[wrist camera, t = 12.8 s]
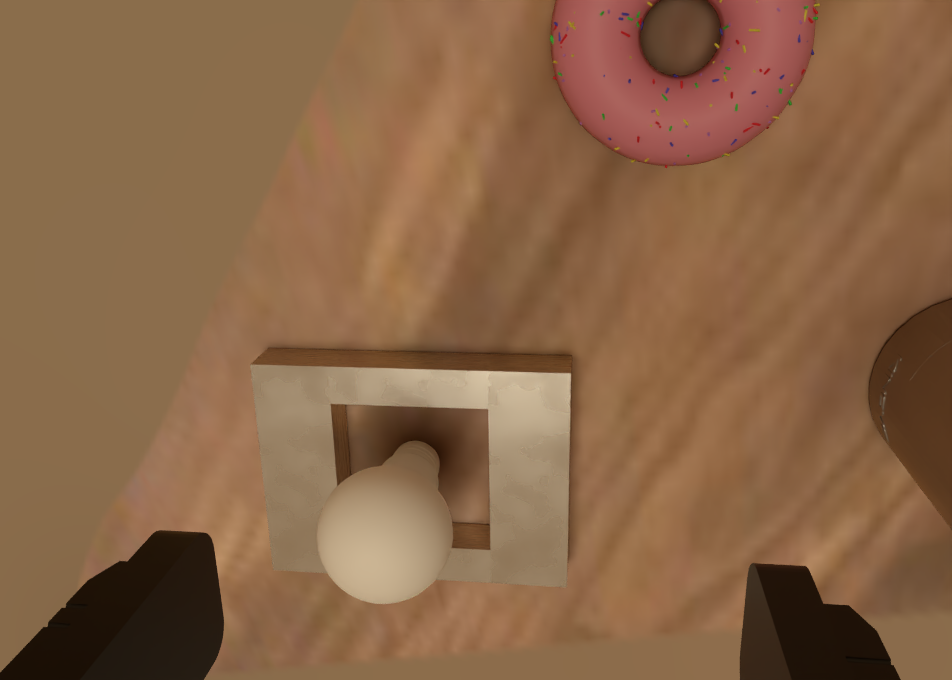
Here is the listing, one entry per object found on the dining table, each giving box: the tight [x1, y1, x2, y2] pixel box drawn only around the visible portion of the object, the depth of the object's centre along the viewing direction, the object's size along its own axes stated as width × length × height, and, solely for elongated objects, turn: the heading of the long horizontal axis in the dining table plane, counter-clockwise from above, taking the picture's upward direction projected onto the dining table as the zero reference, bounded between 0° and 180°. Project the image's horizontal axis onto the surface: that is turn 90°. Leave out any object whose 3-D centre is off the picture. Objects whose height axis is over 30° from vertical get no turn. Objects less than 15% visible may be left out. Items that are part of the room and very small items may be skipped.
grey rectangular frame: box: [250, 348, 572, 587], centre depth 45 cm, size 16×12×2 cm
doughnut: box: [550, 0, 820, 168], centre depth 36 cm, size 11×11×4 cm
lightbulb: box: [317, 441, 453, 604], centre depth 41 cm, size 6×6×11 cm
